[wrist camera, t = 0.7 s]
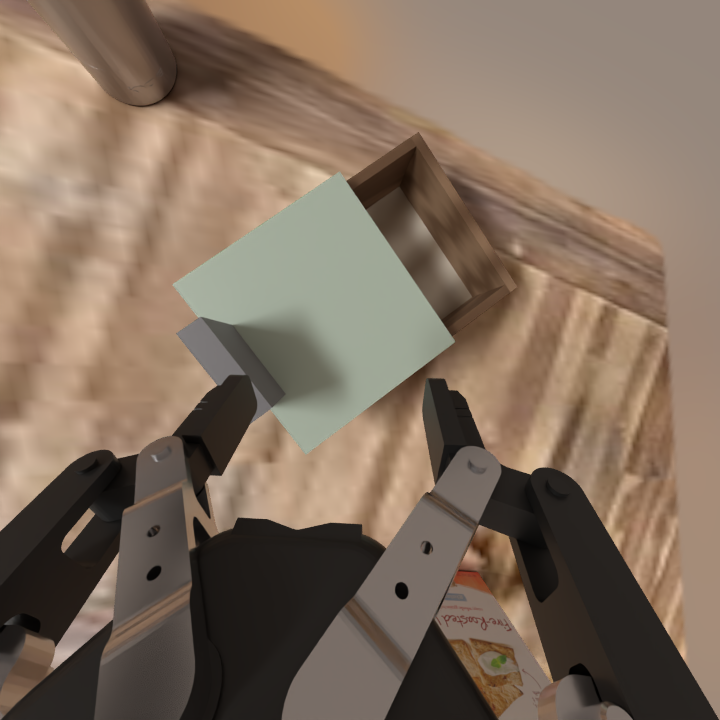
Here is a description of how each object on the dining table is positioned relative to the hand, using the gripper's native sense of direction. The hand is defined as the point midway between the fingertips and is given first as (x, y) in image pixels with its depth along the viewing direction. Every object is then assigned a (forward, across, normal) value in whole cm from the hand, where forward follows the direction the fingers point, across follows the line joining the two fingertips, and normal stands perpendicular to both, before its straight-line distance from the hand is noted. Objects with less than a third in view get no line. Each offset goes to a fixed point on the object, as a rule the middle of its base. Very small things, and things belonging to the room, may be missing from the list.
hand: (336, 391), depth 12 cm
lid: (+15, +4, +3) cm, 16 cm away
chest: (+26, -3, +3) cm, 27 cm away
